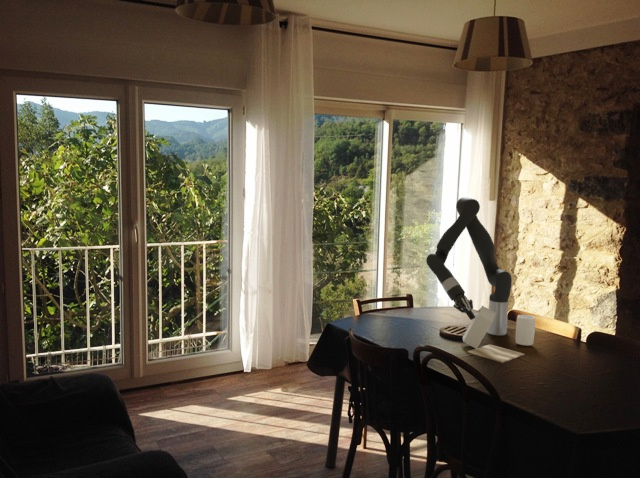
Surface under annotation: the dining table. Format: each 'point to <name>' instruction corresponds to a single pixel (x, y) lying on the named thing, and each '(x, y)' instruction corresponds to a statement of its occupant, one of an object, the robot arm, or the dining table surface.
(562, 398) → the dining table surface
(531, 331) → the cup
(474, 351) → the birch board
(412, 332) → the dining table surface
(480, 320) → the milk carton
